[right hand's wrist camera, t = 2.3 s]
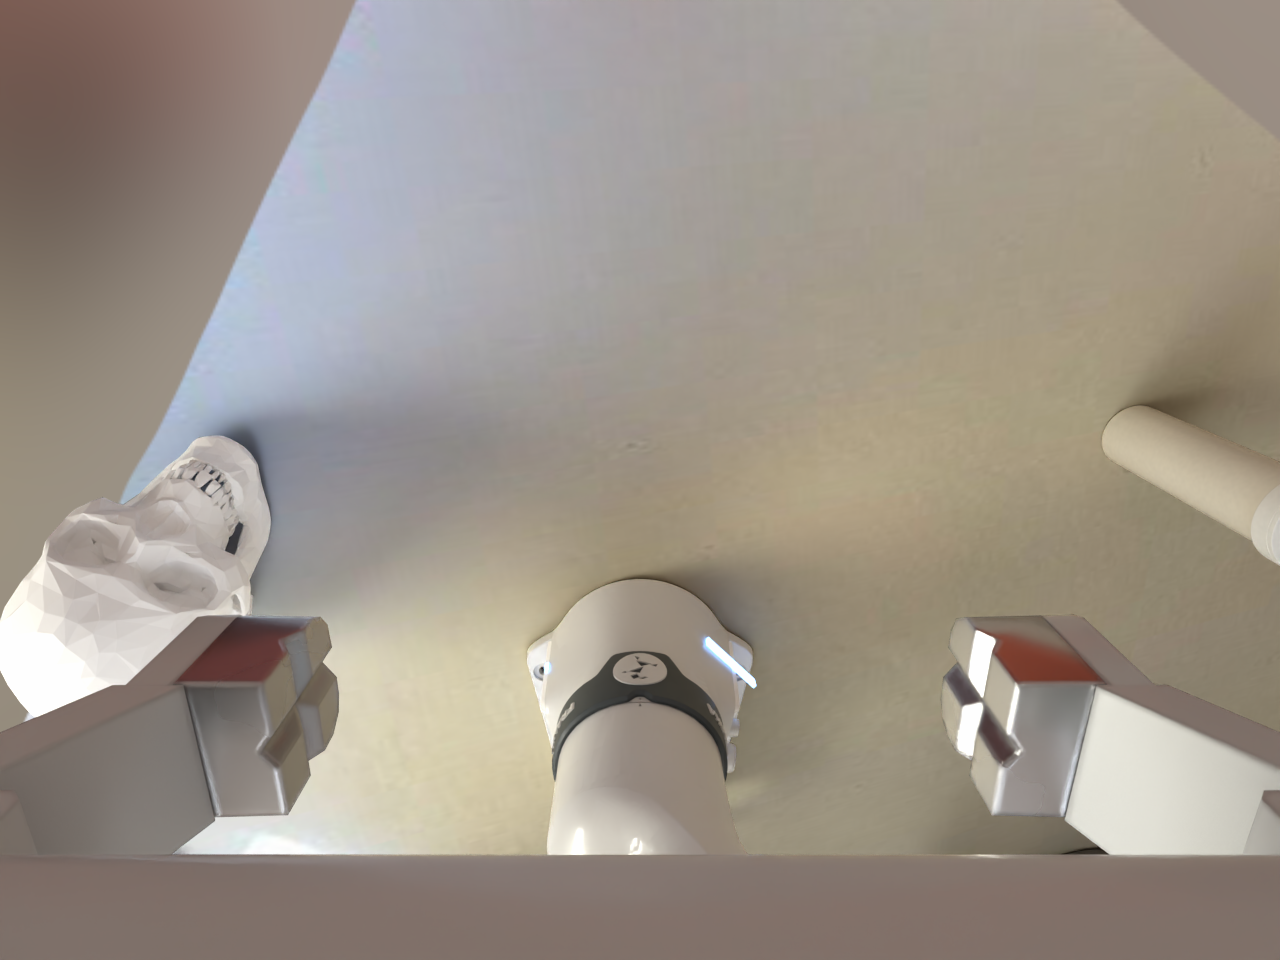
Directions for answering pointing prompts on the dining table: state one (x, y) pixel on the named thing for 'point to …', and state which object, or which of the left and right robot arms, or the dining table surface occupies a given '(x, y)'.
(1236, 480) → the beige cylinder
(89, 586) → the skull
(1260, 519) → the lid
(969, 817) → the dining table surface
